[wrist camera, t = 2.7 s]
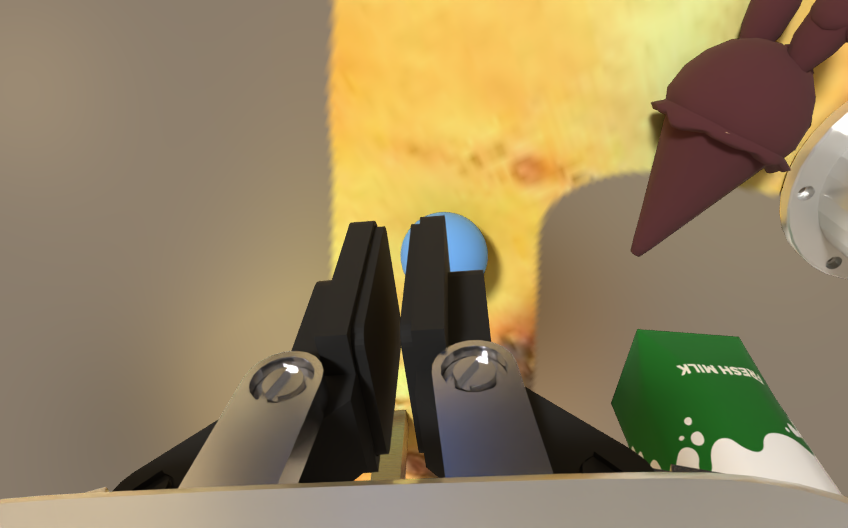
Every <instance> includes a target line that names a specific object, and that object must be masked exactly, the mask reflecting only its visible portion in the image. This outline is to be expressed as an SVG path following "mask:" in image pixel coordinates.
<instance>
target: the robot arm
mask: <svg viewBox="0 0 848 528" xmlns="http://www.w3.org/2000/svg"><path fill="white" fill-rule="evenodd" d="M790 169H791V171H788V173H787V176H786V179H785V182H784V185H783V188H782V192H781V199H780V210H779V212H780V218H781V225H782V229H783V232H784V234H785V236H786V238H787V241H788V242H789V244H790V245H791V246H792V247H793V249H794V250H795V251H796V252H797V253H798V255H800V256H801V257H802V258H803V259H804V260H805V261H807V262H808V263H809V264H810V265H811V266H812V267H814V268H816V269H818V270H819V271H821V272H823V273H826V274H829V275H832V276H836V277H839V278H843V279H848V101H847V102H845V103H844V104H843V105H842V106H840V107H839V108H838V109H836V110H835V111H834V112H833V113H831V114H830V115H829V117H828V118H827V119H826V120H825V121H824V122H823V123H822V124H821V125H820V126H819V127H818V128H817V129H816V130H815V131H814V132H813V133H812V134H811V136H810V137H809V138H808V140H807V141H806V142H805V144H804V145H803V146H802V148H801V149H800V151H799V152H798V154H797V155H796V157H795V159H794V161H793V163H792V165H791V167H790ZM401 348H402V354H403V360H404V366H405V372H406V378H407V384H408V390H409V396H410V402H411V408H412V414H413V420H414V426H415V432H416V438H417V444H418V450H419V453H424V456H425V462H426V467H427V468H428V469H429V470H430V471H432V472H433V473H434V474H435V475H436V476H438V477H439V478H423V479H397V480H371V481H354V480H355V479H356V478H358V477H359V476H360V475H361V474H363V473H372V472H378V471H379V463H380V455H384V454H389V452H390V446H391V437H392V427H393V418H394V408H395V398H396V389H397V379H398V369H399V360H400V350H401ZM0 528H848V497H846V496H843V495H839V494H836V493H832V492H828V491H824V490H821V489H817V488H813V487H810V486H806V485H802V484H798V483H792V482H786V481H780V480H775V479H769V478H763V477H757V476H748V475H736V474H725V473H719V472H714V471H708V470H702V469H697V468H691V467H686V466H680V465H674V464H671V466H670V471H666V470H661V469H655V468H652V467H651V466H650V464H649V463H648V462H647V461H646V460H645V459H644V458H642V457H641V456H640V455H638V454H637V453H636V452H635V451H633V450H631V449H630V448H628V447H626V446H625V445H623V444H621V443H620V442H618V441H616V440H614V439H613V438H611V437H609V436H608V435H606V434H604V433H603V432H601V431H599V430H597V429H596V428H594V427H592V426H591V425H589V424H587V423H585V422H584V421H582V420H580V419H579V418H577V417H575V416H574V415H572V414H570V413H568V412H567V411H565V410H563V409H562V408H560V407H558V406H557V405H555V404H553V403H552V402H550V401H548V400H546V399H545V398H543V397H541V396H540V395H538V394H536V393H535V392H533V391H531V390H529V389H528V388H526V387H525V386H524V383H523V380H522V377H521V374H520V371H519V368H518V365H517V362H516V360H515V359H514V357H513V355H512V354H511V353H510V352H509V351H508V350H506V349H505V348H504V347H502V346H500V345H498V344H495V343H493V342H491V336H490V327H489V318H488V309H487V300H486V291H485V282H484V273H483V270H469V271H455V272H450V262H449V251H448V241H447V231H446V221H445V215H441V216H429V217H420V224H411V230H410V239H409V248H408V256H407V265H406V274H405V283H404V292H403V301H402V310H401V318H400V311H399V305H398V299H397V293H396V287H395V280H394V274H393V268H392V262H391V256H390V250H389V243H388V237H387V231H386V228H385V226H384V227H377V224H376V222H375V221H367V222H354V223H350V224H349V227H348V231H347V234H346V237H345V240H344V243H343V246H342V250H341V253H340V256H339V259H338V262H337V265H336V269H335V272H334V275H333V278H332V280H329V281H319V282H317V283H316V285H315V287H314V290H313V292H312V295H311V298H310V301H309V303H308V306H307V309H306V312H305V315H304V317H303V320H302V323H301V326H300V329H299V331H298V334H297V337H296V340H295V343H294V345H293V348H292V351H289V352H282V353H279V354H275V355H272V356H270V357H268V358H266V359H264V360H262V361H260V362H259V363H257V364H256V365H255V366H254V367H252V368H251V369H250V370H249V371H248V373H247V374H246V375H245V376H244V378H243V379H242V381H241V383H240V385H239V386H238V388H237V390H236V391H235V393H234V395H233V396H232V398H231V400H230V401H229V403H228V405H227V406H226V408H225V410H224V411H223V413H222V415H221V417H220V418H219V419H218V420H217V421H215V422H214V423H212V424H210V425H209V426H207V427H206V428H204V429H202V430H201V431H199V432H198V433H196V434H194V435H193V436H191V437H190V438H188V439H186V440H185V441H183V442H182V443H180V444H179V445H177V446H175V447H174V448H172V449H171V450H169V451H167V452H166V453H164V454H162V455H161V456H159V457H158V458H156V459H154V460H153V461H151V462H150V463H148V464H147V465H145V466H143V467H142V468H140V469H138V470H137V471H135V472H134V473H132V474H131V475H130V476H128V477H127V478H126V479H124V480H123V481H122V482H120V484H119V485H118V486H117V487H116V488H115V489H114V490H113V491H112V492H109V490H108V489H107V488H106V487H103V488H100V489H96V490H92V491H88V492H84V493H78V494H60V495H45V496H33V497H21V498H9V499H0Z"/></svg>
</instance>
